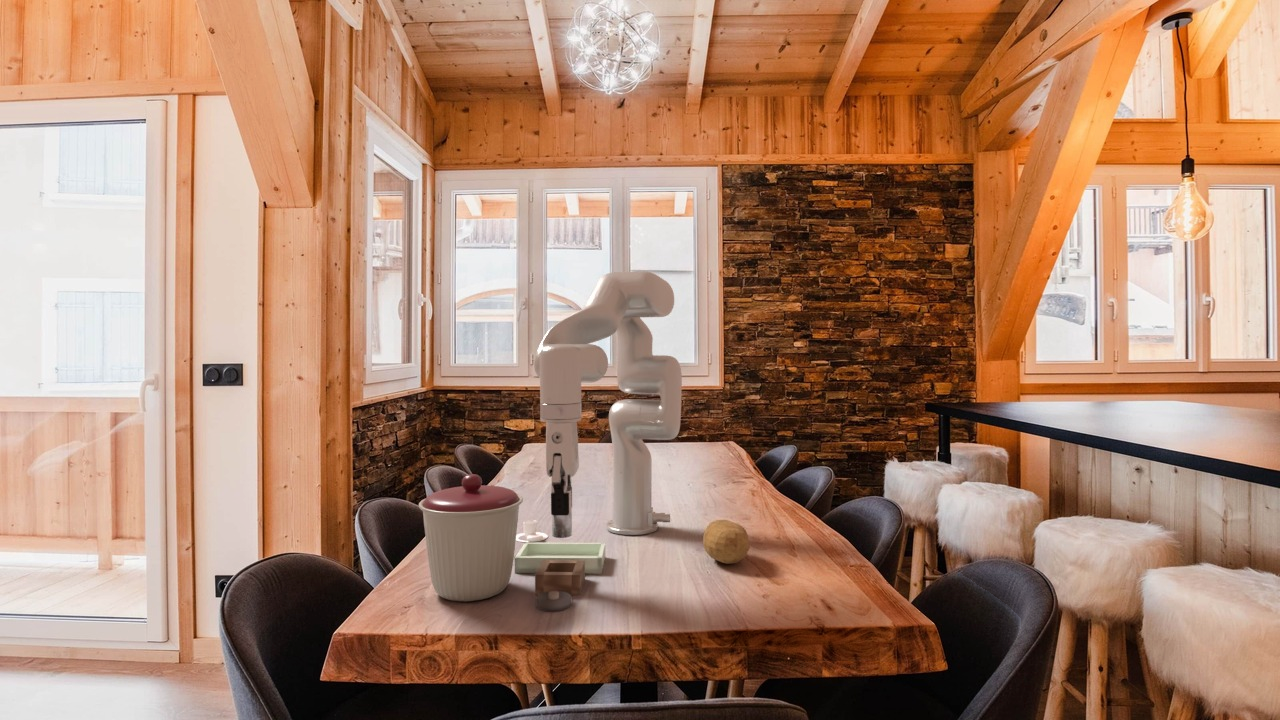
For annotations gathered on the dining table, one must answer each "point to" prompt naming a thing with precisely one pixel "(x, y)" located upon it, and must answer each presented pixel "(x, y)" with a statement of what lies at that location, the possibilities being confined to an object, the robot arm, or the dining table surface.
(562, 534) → the dark capped bottle
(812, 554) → the dining table surface
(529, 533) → the teacup and saucer
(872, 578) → the dining table surface
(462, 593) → the canister
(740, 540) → the potato
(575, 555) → the tray
